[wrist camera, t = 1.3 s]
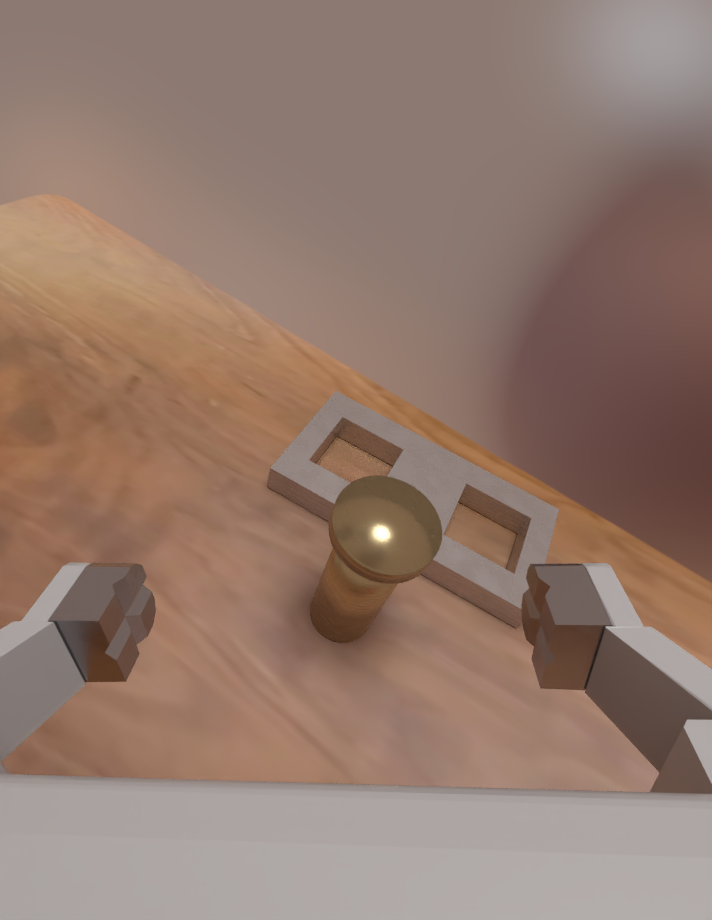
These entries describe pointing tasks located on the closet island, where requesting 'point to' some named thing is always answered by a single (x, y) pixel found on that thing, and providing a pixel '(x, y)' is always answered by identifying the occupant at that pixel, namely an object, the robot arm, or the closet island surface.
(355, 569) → the brass capped peg
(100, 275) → the closet island surface
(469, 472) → the plate
